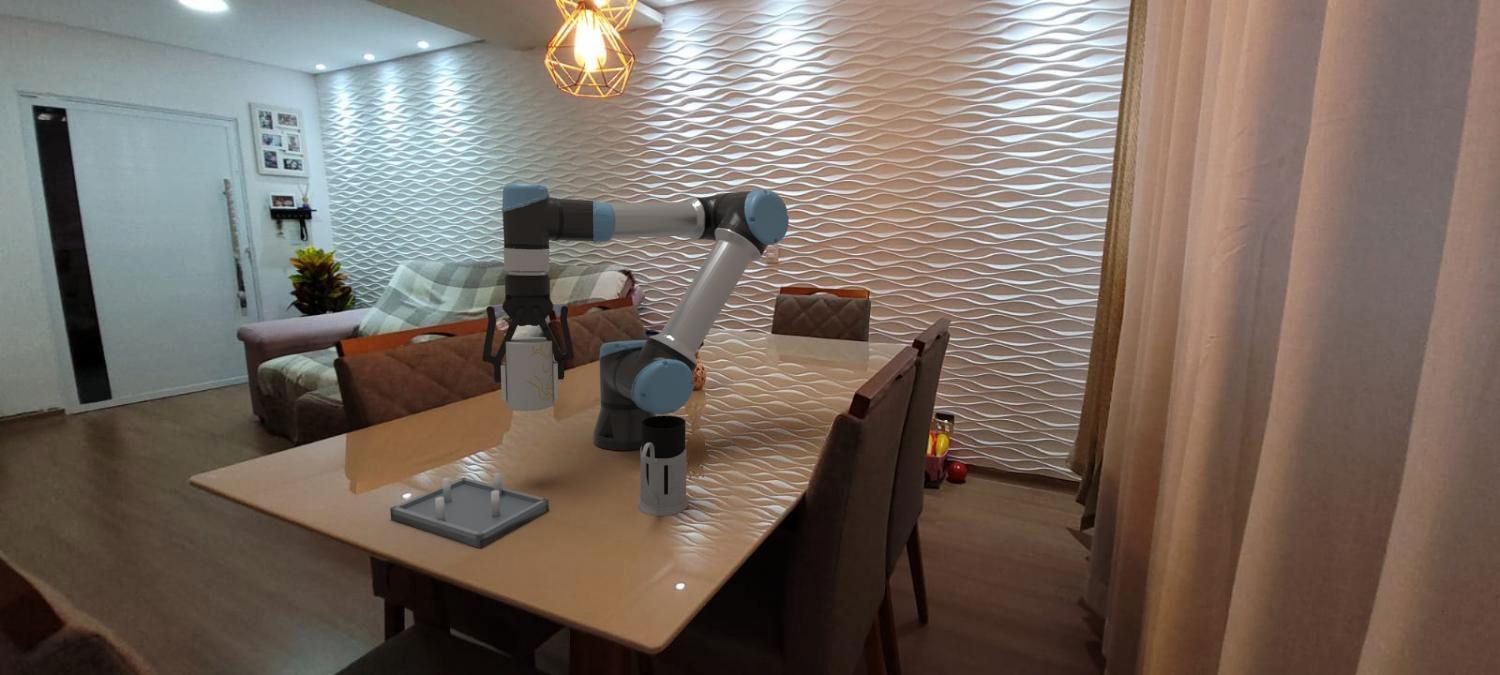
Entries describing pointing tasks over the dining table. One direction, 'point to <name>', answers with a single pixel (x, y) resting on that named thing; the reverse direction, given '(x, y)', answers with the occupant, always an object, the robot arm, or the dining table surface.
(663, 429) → the glass holder
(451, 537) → the tray
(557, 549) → the dining table surface
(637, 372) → the robot arm
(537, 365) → the cup
